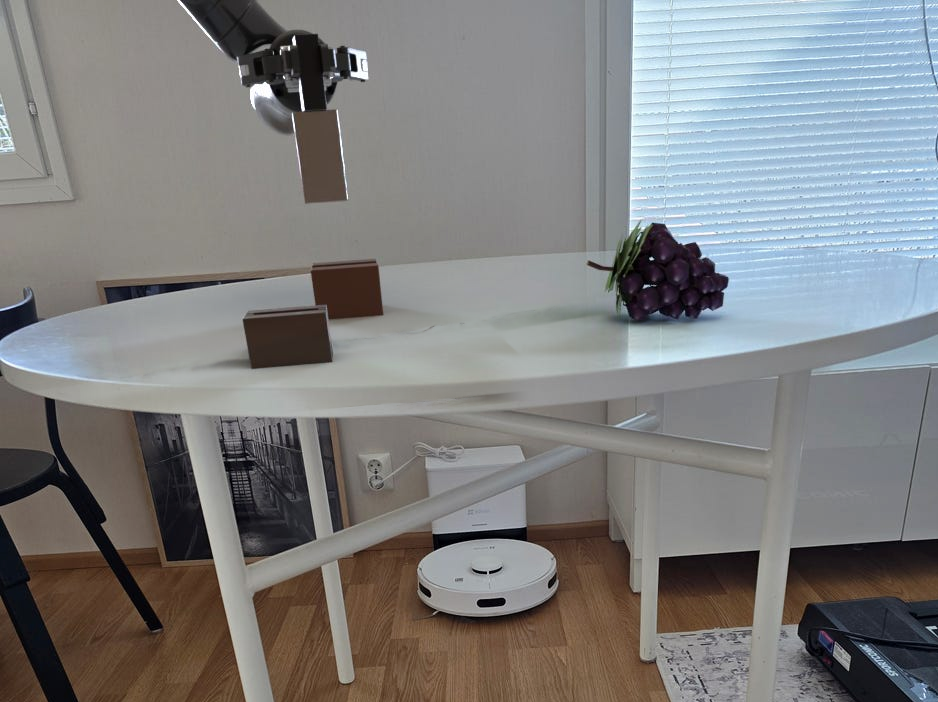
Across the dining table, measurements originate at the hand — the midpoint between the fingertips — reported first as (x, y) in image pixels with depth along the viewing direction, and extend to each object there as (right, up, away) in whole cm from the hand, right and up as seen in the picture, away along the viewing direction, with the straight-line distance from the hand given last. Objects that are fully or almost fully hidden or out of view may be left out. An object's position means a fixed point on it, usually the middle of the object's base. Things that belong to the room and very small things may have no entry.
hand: (310, 58), depth 79 cm
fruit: (+35, -19, +13) cm, 42 cm away
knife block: (-2, -29, 0) cm, 29 cm away
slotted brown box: (+1, -18, +18) cm, 26 cm away
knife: (0, -9, +8) cm, 12 cm away
